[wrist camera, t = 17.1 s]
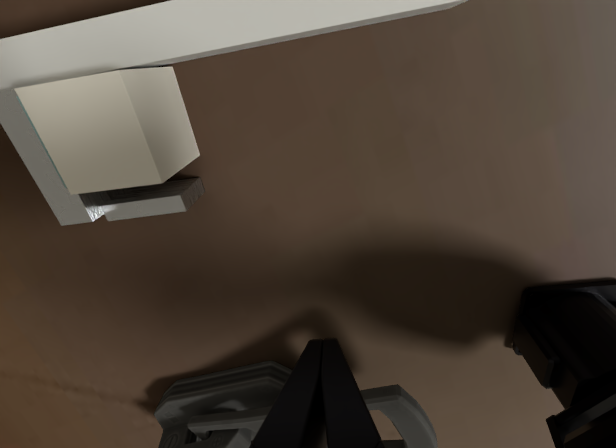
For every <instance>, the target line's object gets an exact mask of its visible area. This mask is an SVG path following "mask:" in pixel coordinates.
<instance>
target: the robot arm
mask: <svg viewBox="0 0 616 448" xmlns="http://www.w3.org/2000/svg"><path fill="white" fill-rule="evenodd" d="M532 294H533V295H532ZM530 295H531V296H530ZM513 341H514V342H513V347H512V348H513V350H514V352H515V353H516V354H517V355H523V357H524V359H525V360H526V362H527V363H528V365H529V366H530V368H531V370H532V371H533V373H534V374H535V376H536V377H537V379H538V381H539V382H540V384H541V385H542V386H543V387H544V388H546V389H550V388H551V389H552V390H553V392H554V393H555V395H556V396H557V398H558V399H559V401H560V402H561V404H562V405H563V407H564V409H565V410H563V411H562V412H560V413H559V414H557V415H552V416H550V417H548V418H547V419H546V422H547V425H548V428H549V430H550V433H551V436H552V439H553V442H554V444H555V447H556V448H616V281H607V282H595V283H582V284H570V285H557V286H545V287H533V288H528V289H526V290H525V291H524V292H523V294H522V299H521V304H520V310H519V314H518V316H517V318H516V323H515V329H514V334H513ZM249 448H385V446H384V444H383V442H382V441H381V437H380V435H379V433H378V430H377V428H376V426H375V424H374V421H373V419H372V417H371V415H370V412H369V410H368V408H367V406H366V403H365V401H364V399H363V397H362V394H361V392H360V390H359V388H358V385H357V383H356V381H355V379H354V376H353V374H352V372H351V370H350V368H349V365H348V363H347V361H346V359H345V356H344V354H343V352H342V350H341V347H340V345H339V343H338V341H337V339H336V338H327V339H324V340H322V339H312V340H310V341H309V342H308V344H307V346H306V347H305V349H304V351H303V353H302V354H301V356H300V358H299V360H298V361H297V363H296V365H295V367H294V368H293V370H292V372H291V374H290V376H289V377H288V379H287V381H286V383H285V384H284V386H283V388H282V390H281V391H280V393H279V395H278V397H277V399H276V400H275V402H274V404H273V406H272V407H271V409H270V411H269V413H268V414H267V416H266V418H265V420H264V422H263V423H262V425H261V427H260V429H259V430H258V432H257V434H256V436H255V437H254V439H253V444H250V446H249Z"/></svg>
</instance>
